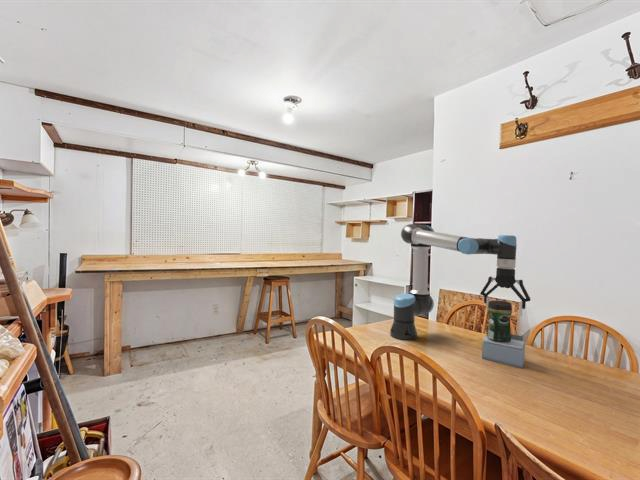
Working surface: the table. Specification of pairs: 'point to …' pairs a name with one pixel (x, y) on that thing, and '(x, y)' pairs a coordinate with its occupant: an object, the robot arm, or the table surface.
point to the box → (503, 354)
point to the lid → (515, 342)
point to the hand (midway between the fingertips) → (503, 312)
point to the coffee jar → (499, 321)
